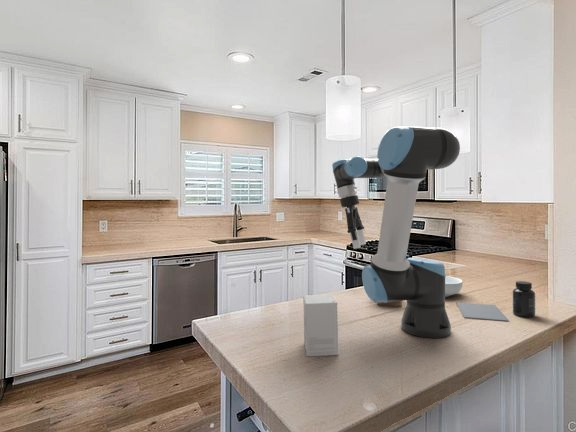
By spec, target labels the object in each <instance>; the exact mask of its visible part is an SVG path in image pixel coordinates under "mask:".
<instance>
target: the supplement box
mask: <svg viewBox="0 0 576 432" xmlns="http://www.w3.org/2000/svg"><path fill="white" fill-rule="evenodd" d="M302 298H303V302H302V303H303V339H304V341H303V343H304V348H305V353H306V356H307V357H320V356H321V357H323V356H338V355H339V334H338V333H339V328H338V326H339V325H338V319H339V318H338V317H339V316H338V302H337V301H336V299H335V298H334V296H333V294H305V295H303V297H302Z"/></svg>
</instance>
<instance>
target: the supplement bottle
mask: <svg viewBox="0 0 576 432" xmlns="http://www.w3.org/2000/svg"><path fill="white" fill-rule="evenodd" d="M532 285H533V284H532V282H530V281H524V280H520V281H519V280H516V281H515V287H516V288H513V290H512V314H513V315H515V316H516V317H520V318H525V319H526V318H527V319H528V318H530V319H531V318H534V317H536V293H535V291H534V290H533V286H532Z"/></svg>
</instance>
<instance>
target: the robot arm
mask: <svg viewBox="0 0 576 432" xmlns="http://www.w3.org/2000/svg"><path fill="white" fill-rule="evenodd" d="M460 146H461V144H460V141H459V139H458V137H457V136H456V135H455V134H454V133H453V132H452V131H451V130H449V129H446V128H442V127H426V126H425V127H424V126H410V125H409V126H408V125H406V126H395V127H392V128H390V129H388V130H387V131H386V132H385V134H383V136H382V137H381V139H380V142H379V143H378V148H377V155H376V156H377V158H373V159H372V158H364V157H362V156H360V155H356V156H352V157H350V158H343V159H339V160H337V161H334V162H333V163H332V164H331V166H332V173H333V176H334V181H335V183H336V189H337V194H338V198H339V201H340V205H341V208H344V211H345V214H346V215H345V217H346V225H347V234H350V239H351V243H352V248H353V250H357V249H360V248H361V246H363V245H366V244H367V241H366V237H365V232H364V230H365V226H364V224H363V222H362V219H361V216H360V214H359V209H358V207H356V205H359V204H360V200H359V196H358V195H357V194H358V192H357V189H358V186H356V182H355V179H386V180H387V183H386V190H385V196H384V203H383V211H382V217H381V224H380V231H379V232H380V233H379V240H378V245H377V252H376V253H375V254H374V255H372V257H371V259H370V261H371V262H370V265H369V264H367V265H365V266H363V268H362V272H361V278H362V280H361V281H362V284H363V285H362V287H363V288H364V292H365V293H366V295H367V297H368V298H369V300H370V301H372V302H373V303H377V302H384V303H387V302H393V301H402V302H403V301H406V305H405V308H404V312H403V315H402V318H401V321H400V323H401V325H400V327H401V330H403V331H404V332H406V333H407V334H410V335H412V336H417V337H421V338H427V339H428V338H429V339H439V338H441V339H442V338H446V337H448V336H450V335H451V333H452V326H451V322H450V318H449V316H448V313H447V310H446V297H445V277H446V276H447V275H446V271H445V270H446V269H445V265H444V264H443V263H442V262H440V261H437V260H433V259H428V258H419V257H408V258H407V253H408V249H409V248H408V247H409V242H410V235H411V231H412V224H413V220H414V213H415V207H416V201H417V195H418V190H419V184H420V183H421V182H422V181H424V180H425V179H426V176H427V172H428V171H427V170H439V169H445V168H447V167H449V166H451V165H452V164H454V163H455V162H456V160H457V159H458V157H459V154H460V150H461V147H460Z"/></svg>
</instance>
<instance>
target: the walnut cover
mask: <svg viewBox="0 0 576 432" xmlns="http://www.w3.org/2000/svg"><path fill="white" fill-rule="evenodd" d="M376 304H377V306H390V307H391V306H392V307H402V306H403V301H393V302H387V303H384V302H376Z"/></svg>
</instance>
